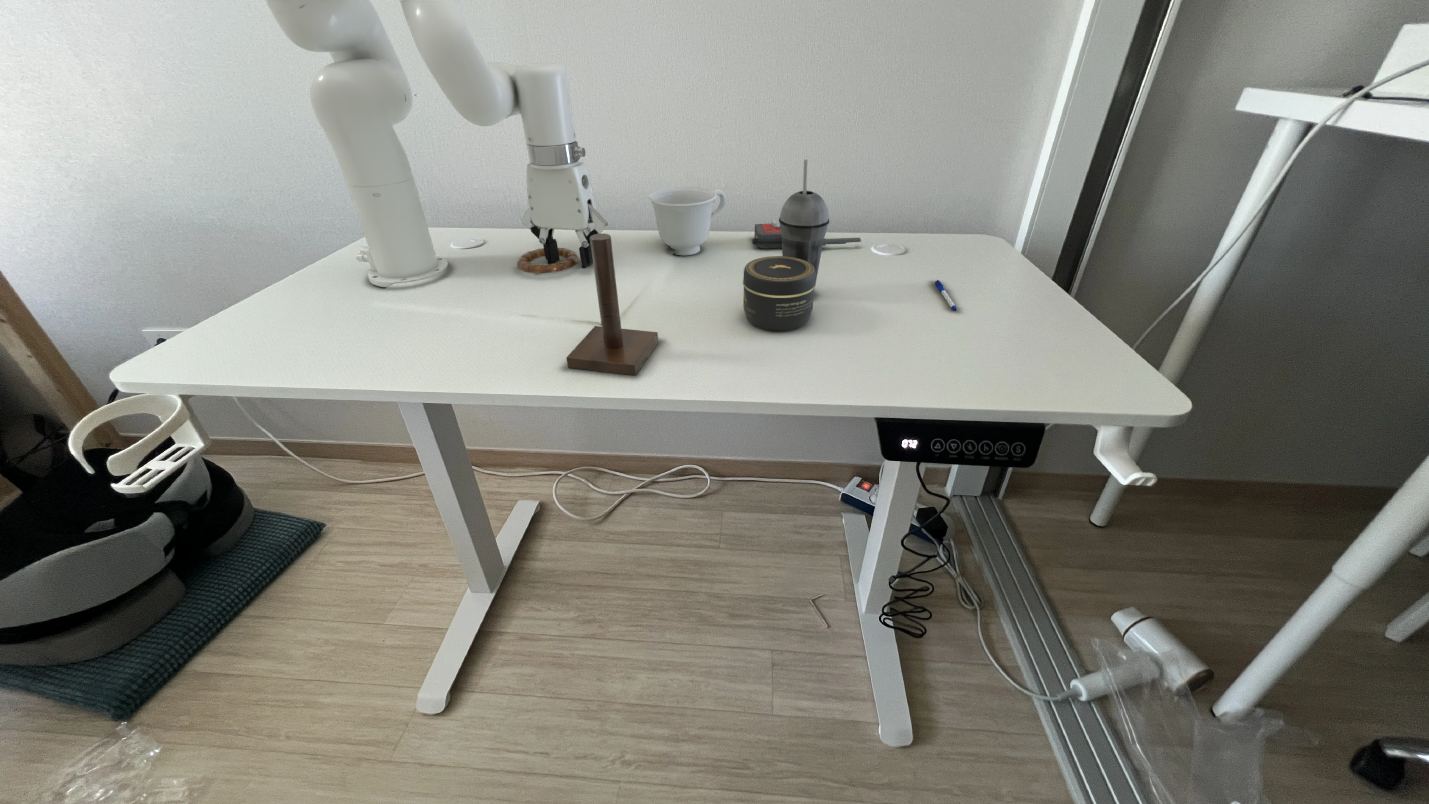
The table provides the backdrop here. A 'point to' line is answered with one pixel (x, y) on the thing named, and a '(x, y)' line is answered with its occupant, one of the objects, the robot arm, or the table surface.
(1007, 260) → the table surface
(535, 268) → the ring
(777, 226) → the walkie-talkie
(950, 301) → the blue marker pen
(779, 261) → the jar
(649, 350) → the post
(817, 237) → the beverage cup
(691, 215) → the teacup
